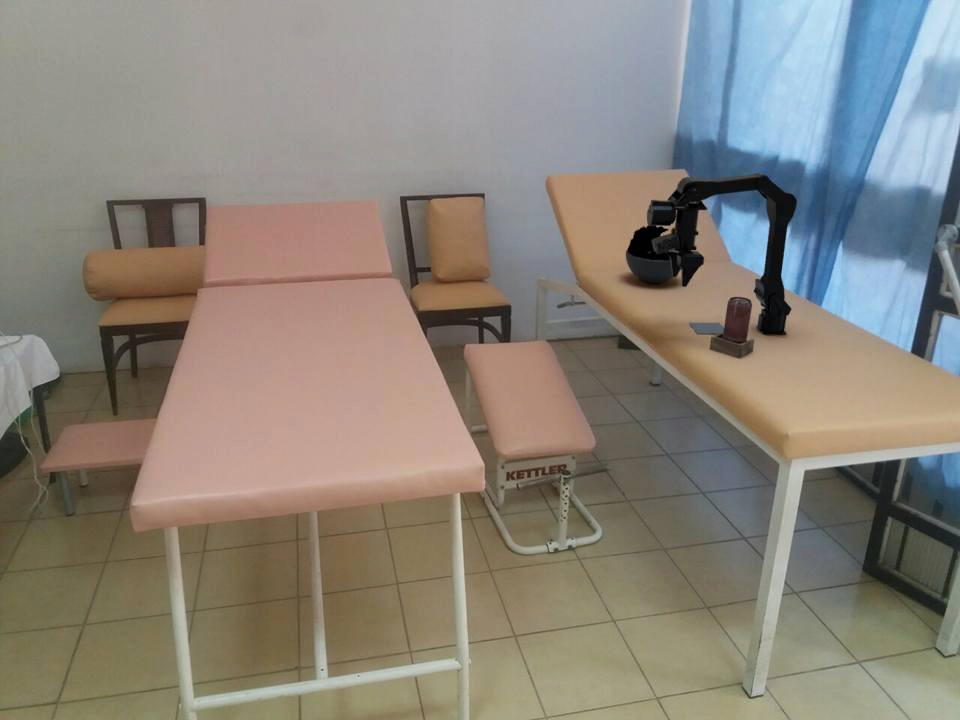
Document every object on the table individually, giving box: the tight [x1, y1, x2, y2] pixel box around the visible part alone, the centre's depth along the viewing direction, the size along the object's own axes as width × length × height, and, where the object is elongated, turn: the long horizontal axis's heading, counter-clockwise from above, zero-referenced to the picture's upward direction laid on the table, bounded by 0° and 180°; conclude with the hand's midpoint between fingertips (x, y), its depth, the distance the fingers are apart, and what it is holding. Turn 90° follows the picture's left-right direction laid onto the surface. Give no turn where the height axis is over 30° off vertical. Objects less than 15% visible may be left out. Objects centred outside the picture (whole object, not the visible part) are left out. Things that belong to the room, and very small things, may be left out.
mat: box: [688, 322, 724, 335], centre depth 223 cm, size 9×9×1 cm
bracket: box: [709, 331, 756, 359], centre depth 208 cm, size 7×9×4 cm
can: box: [723, 296, 753, 344], centre depth 206 cm, size 6×6×14 cm
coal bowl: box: [625, 224, 681, 284], centre depth 262 cm, size 20×20×19 cm
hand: (679, 281), depth 215 cm, fingers open, 9 cm apart
